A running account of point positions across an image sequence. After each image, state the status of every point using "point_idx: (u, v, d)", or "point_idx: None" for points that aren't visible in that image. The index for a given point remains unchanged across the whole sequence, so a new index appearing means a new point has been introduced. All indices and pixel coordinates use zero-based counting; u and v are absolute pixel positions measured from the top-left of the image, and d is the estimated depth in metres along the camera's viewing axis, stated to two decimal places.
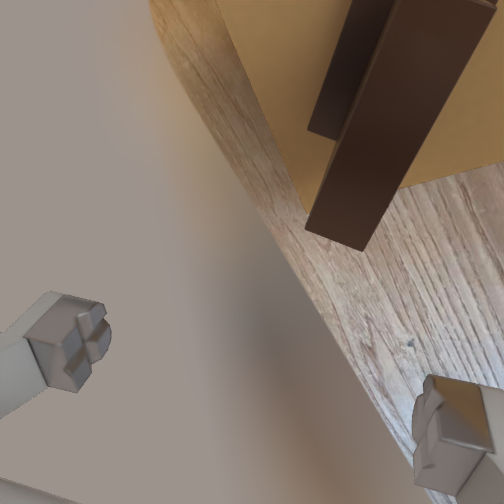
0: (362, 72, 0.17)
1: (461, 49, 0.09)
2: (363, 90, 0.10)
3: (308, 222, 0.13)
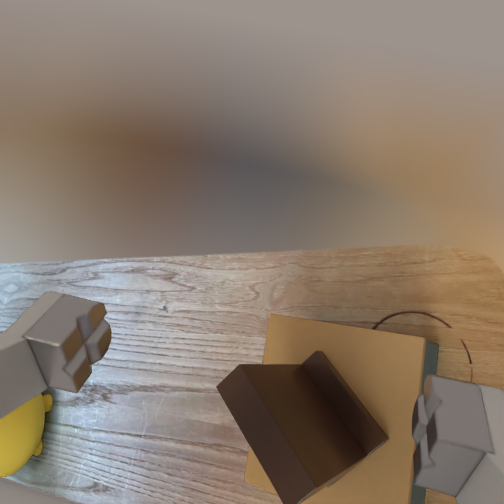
0: (330, 402, 0.28)
1: (280, 489, 0.20)
2: (286, 439, 0.20)
3: (241, 369, 0.22)
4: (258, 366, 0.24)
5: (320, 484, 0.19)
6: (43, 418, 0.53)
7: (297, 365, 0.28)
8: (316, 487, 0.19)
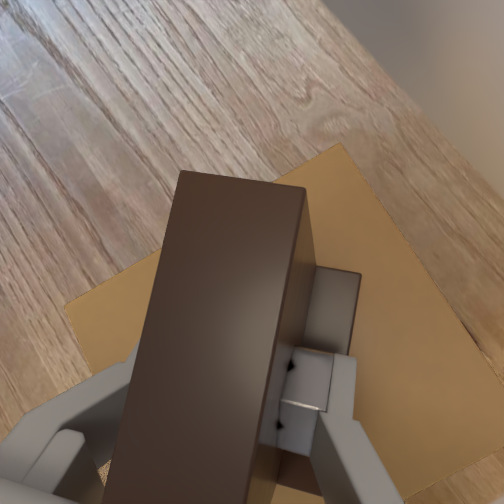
0: None
1: None
2: None
3: (299, 206, 0.06)
4: (309, 227, 0.08)
5: None
6: None
7: (315, 265, 0.13)
8: None
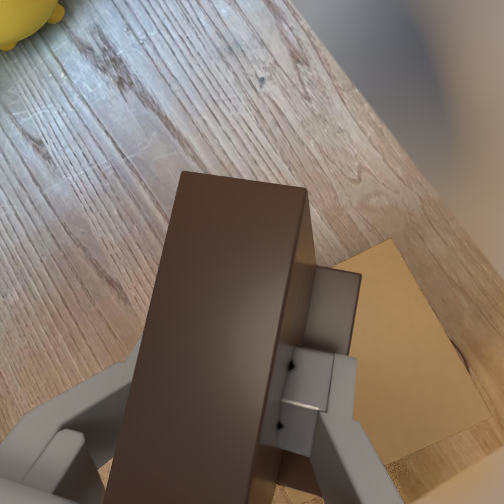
0: None
1: None
2: None
3: (301, 207, 0.06)
4: (309, 228, 0.08)
5: None
6: (40, 26, 0.40)
7: (315, 265, 0.13)
8: None
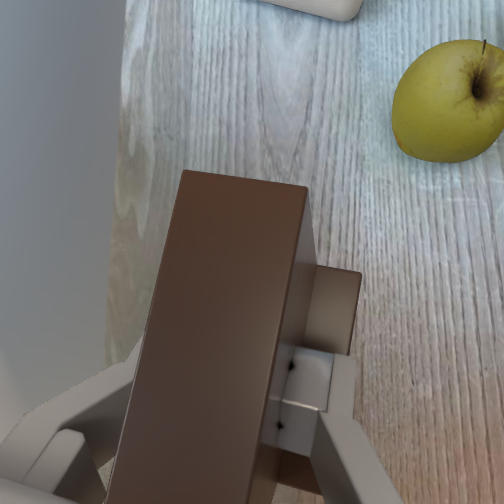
0: None
1: None
2: None
3: (301, 205, 0.06)
4: (310, 227, 0.08)
5: None
6: None
7: (315, 265, 0.13)
8: None
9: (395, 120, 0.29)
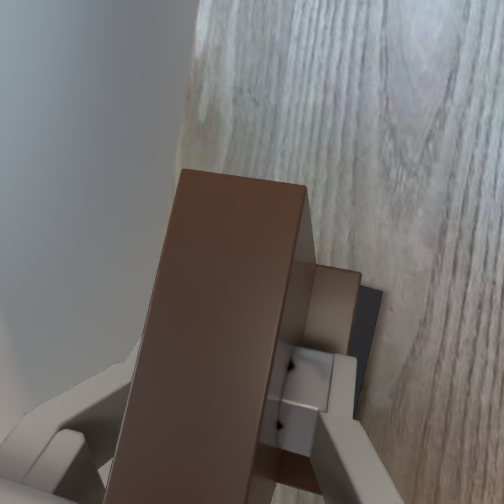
0: None
1: None
2: None
3: (300, 204, 0.06)
4: (309, 226, 0.08)
5: None
6: None
7: (315, 264, 0.13)
8: None
9: None
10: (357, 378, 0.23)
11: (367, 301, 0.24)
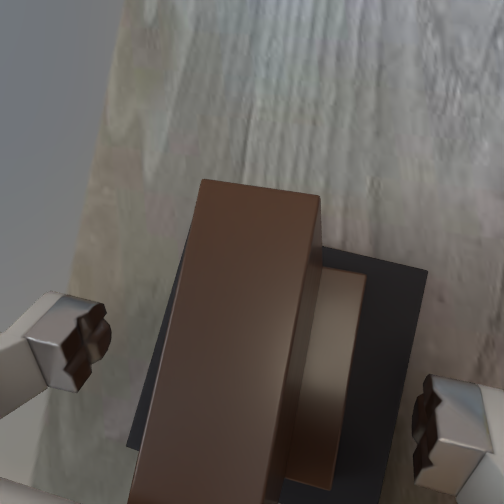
0: (307, 360, 0.14)
1: None
2: (261, 499, 0.06)
3: (314, 213, 0.06)
4: (320, 232, 0.08)
5: None
6: None
7: (322, 266, 0.13)
8: None
9: None
10: (387, 414, 0.14)
11: (402, 287, 0.15)
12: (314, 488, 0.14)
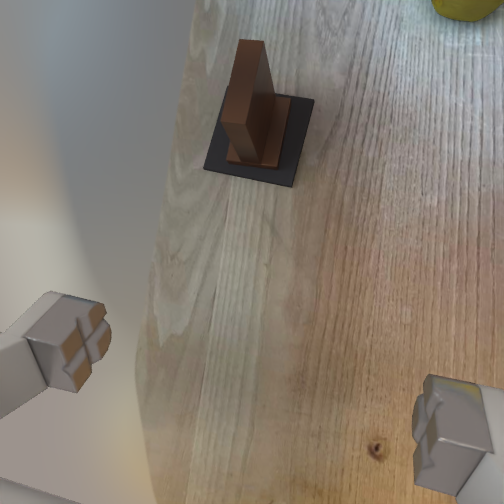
0: (269, 127, 0.39)
1: (226, 110, 0.32)
2: (251, 94, 0.31)
3: (262, 44, 0.32)
4: (266, 57, 0.34)
5: (246, 126, 0.32)
6: None
7: (274, 93, 0.39)
8: (244, 124, 0.31)
9: None
10: (298, 147, 0.40)
11: (305, 105, 0.40)
12: (272, 173, 0.40)
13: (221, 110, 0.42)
